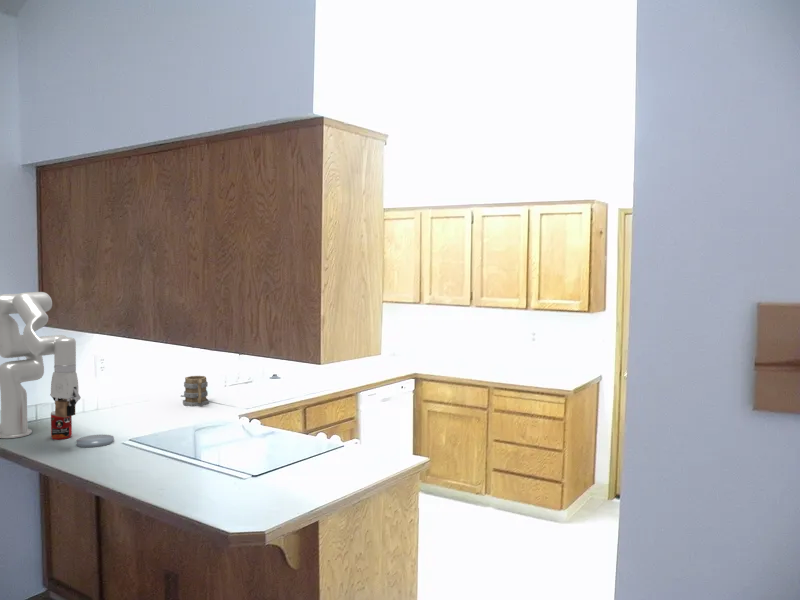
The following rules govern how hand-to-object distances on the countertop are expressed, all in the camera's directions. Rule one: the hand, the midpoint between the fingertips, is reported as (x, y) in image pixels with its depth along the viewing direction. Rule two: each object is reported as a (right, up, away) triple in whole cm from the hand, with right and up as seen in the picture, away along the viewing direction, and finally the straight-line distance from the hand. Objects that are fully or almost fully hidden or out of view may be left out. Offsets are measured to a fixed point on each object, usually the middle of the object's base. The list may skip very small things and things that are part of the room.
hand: (65, 414), depth 254 cm
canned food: (-11, -13, +17) cm, 24 cm away
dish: (+7, -14, +10) cm, 18 cm away
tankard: (+26, -10, +82) cm, 86 cm away
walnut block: (0, -1, 0) cm, 1 cm away
